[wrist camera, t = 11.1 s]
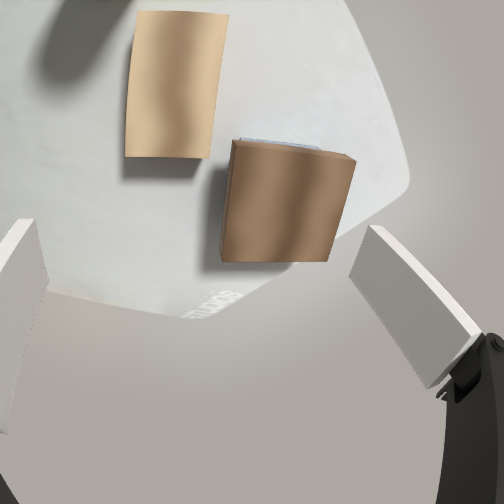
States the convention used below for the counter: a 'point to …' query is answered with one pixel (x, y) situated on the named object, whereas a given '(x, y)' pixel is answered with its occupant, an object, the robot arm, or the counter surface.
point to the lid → (282, 202)
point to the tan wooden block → (174, 83)
